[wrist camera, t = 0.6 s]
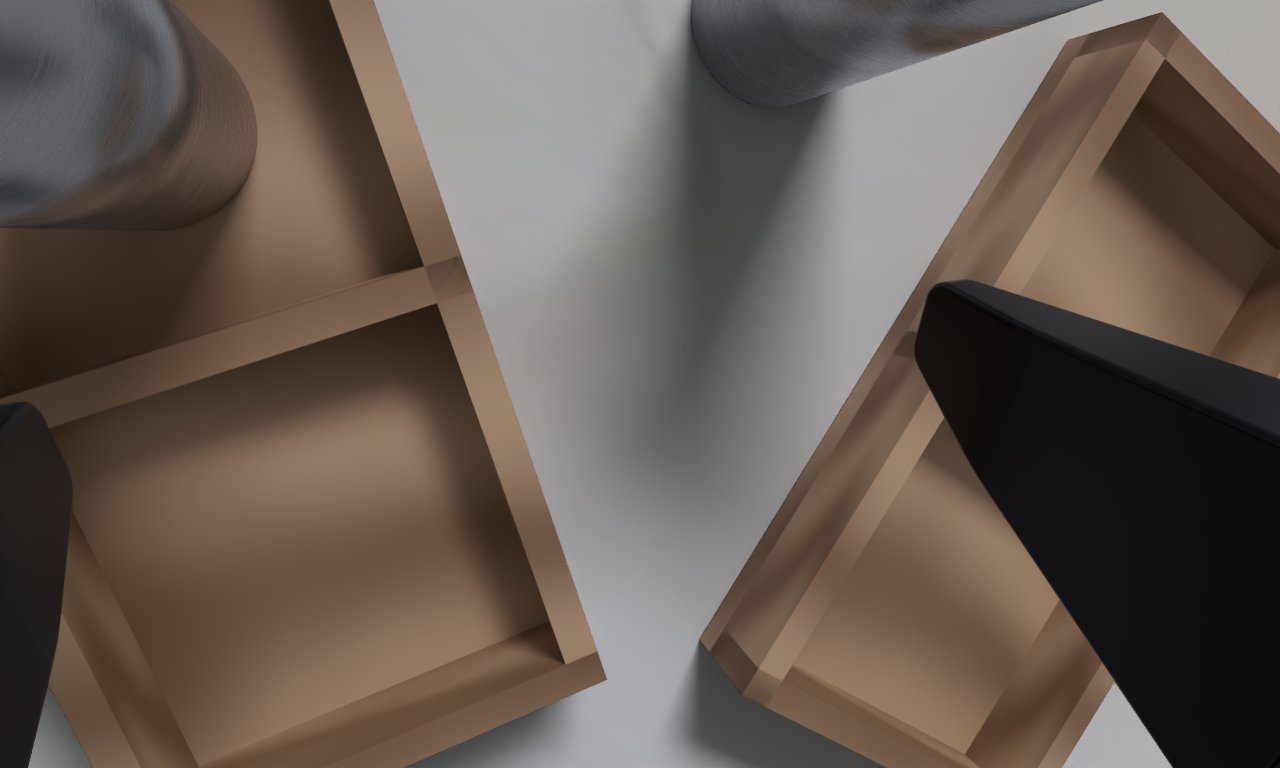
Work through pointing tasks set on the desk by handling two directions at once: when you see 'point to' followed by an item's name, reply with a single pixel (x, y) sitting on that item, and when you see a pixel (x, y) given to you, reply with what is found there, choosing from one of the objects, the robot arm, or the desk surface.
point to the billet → (843, 39)
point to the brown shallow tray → (290, 445)
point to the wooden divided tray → (931, 457)
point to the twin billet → (117, 117)
